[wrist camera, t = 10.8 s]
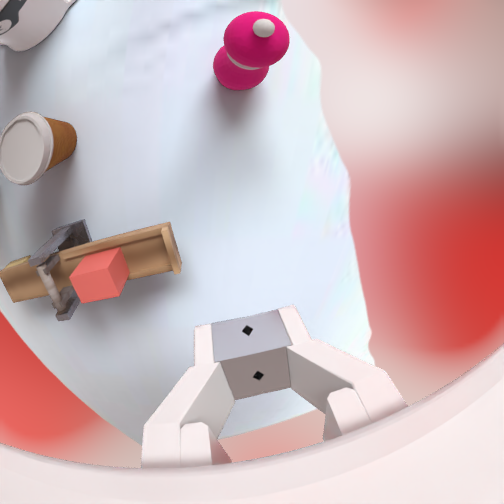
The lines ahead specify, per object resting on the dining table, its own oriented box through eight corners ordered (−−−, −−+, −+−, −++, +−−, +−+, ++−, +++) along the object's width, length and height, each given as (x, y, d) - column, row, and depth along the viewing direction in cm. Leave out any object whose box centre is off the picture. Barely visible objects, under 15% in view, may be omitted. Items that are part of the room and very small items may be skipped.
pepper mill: (260, 95, 36) (308, 69, 18) (211, 92, 35) (216, 60, 17) (263, 51, 33) (310, -1, 15) (214, 48, 32) (222, -13, 14)
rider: (85, 256, 34) (68, 277, 29) (120, 246, 34) (107, 267, 29) (95, 280, 36) (81, 303, 30) (129, 272, 36) (119, 296, 31)
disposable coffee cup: (87, 109, 32) (49, 106, 21) (84, 169, 36) (47, 186, 25) (40, 115, 30) (-4, 117, 19) (38, 171, 34) (-4, 189, 23)
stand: (53, 229, 38) (17, 262, 27) (84, 219, 39) (50, 251, 28) (75, 281, 43) (48, 323, 32) (105, 274, 44) (82, 318, 33)
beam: (9, 259, 36) (-17, 284, 27) (171, 211, 38) (162, 235, 30) (24, 291, 39) (3, 320, 31) (184, 255, 41) (179, 288, 33)
